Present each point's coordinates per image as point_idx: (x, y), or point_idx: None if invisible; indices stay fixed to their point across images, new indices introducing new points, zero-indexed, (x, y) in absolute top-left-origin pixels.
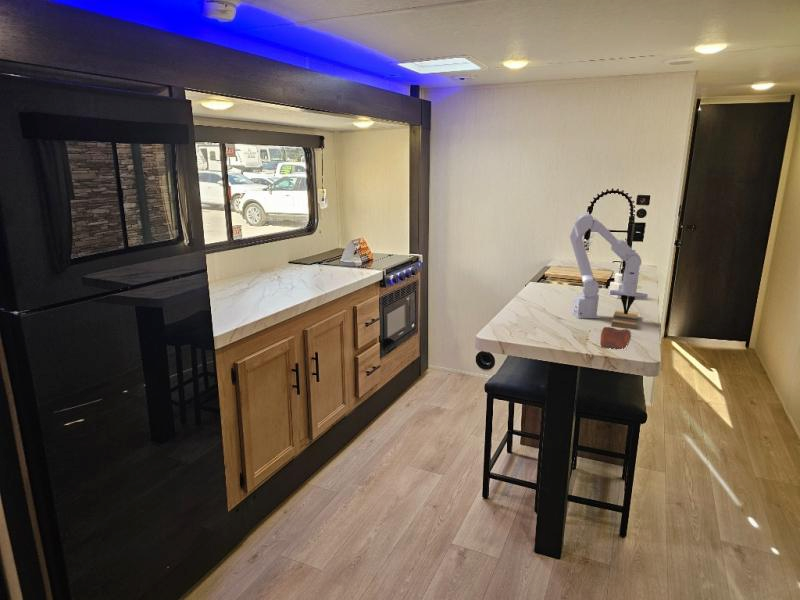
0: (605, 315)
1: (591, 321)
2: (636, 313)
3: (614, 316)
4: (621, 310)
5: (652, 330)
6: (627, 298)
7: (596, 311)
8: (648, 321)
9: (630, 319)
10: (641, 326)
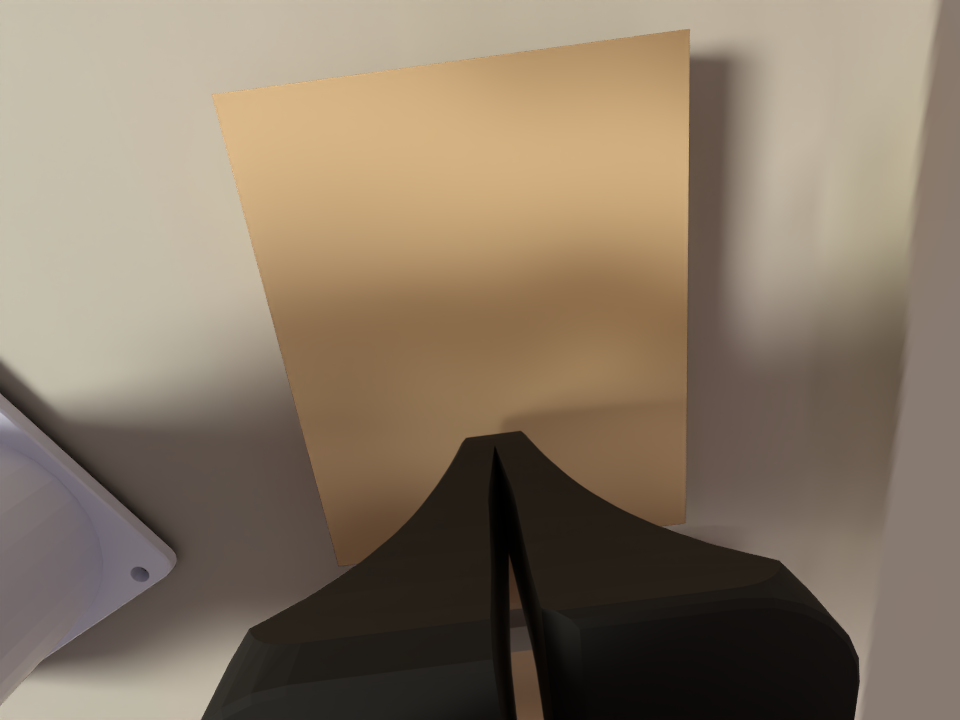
0: (164, 327)
1: (160, 713)
2: (661, 161)
3: None
4: (339, 99)
5: None
6: (490, 587)
7: (40, 614)
8: (829, 261)
9: None
10: None
